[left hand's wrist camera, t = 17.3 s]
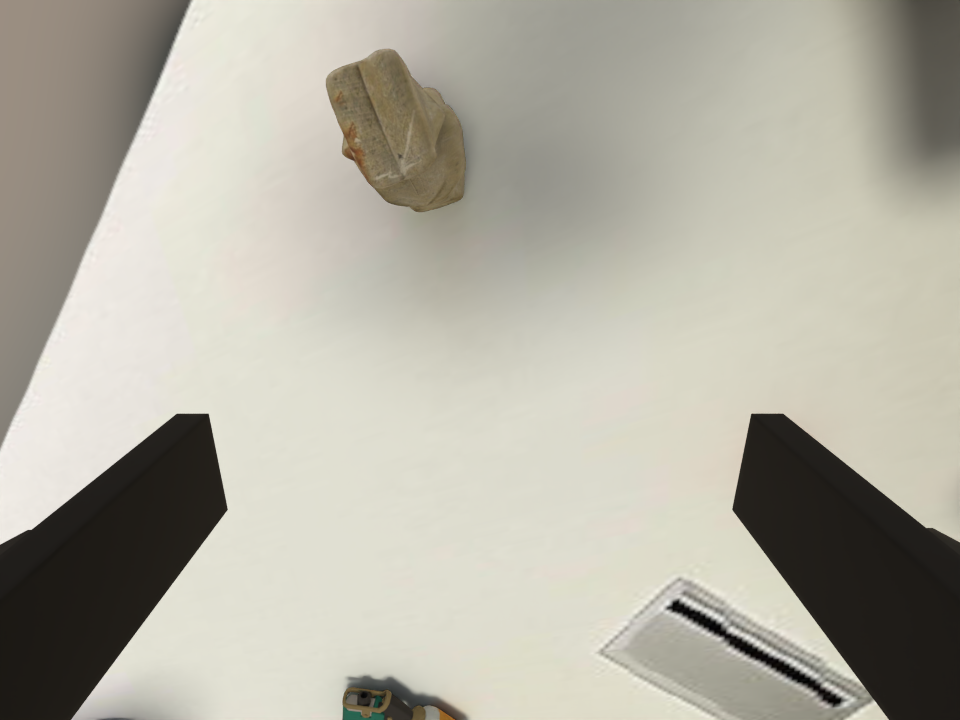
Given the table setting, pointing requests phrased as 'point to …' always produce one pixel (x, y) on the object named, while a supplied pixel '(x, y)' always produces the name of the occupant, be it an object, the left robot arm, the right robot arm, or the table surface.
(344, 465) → the table surface
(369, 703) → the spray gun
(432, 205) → the sculpture
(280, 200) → the table surface
